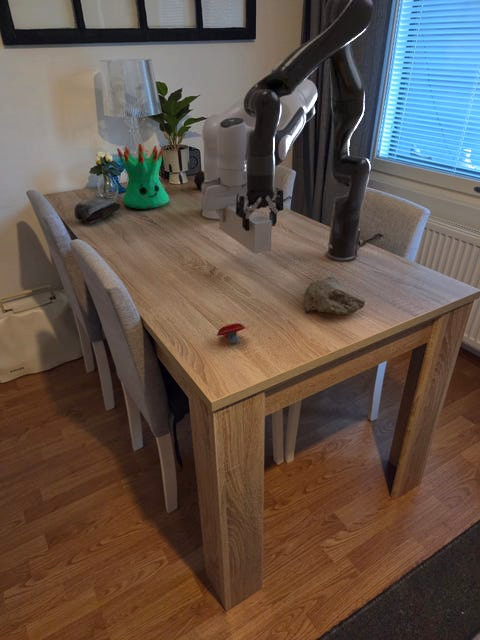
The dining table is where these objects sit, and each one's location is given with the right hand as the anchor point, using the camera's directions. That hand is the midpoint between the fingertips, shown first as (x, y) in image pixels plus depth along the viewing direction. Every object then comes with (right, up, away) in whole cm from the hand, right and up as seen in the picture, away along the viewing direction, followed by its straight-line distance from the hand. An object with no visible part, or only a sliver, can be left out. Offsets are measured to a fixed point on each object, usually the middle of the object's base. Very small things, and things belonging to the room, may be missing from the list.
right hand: (259, 227), depth 129 cm
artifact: (+19, -23, -4) cm, 30 cm away
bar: (-5, -1, +10) cm, 11 cm away
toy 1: (-49, +26, +75) cm, 93 cm away
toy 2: (-22, +40, +96) cm, 106 cm away
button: (-8, -32, -19) cm, 38 cm away
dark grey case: (-65, +16, +57) cm, 88 cm away
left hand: (-8, +6, +14) cm, 17 cm away
